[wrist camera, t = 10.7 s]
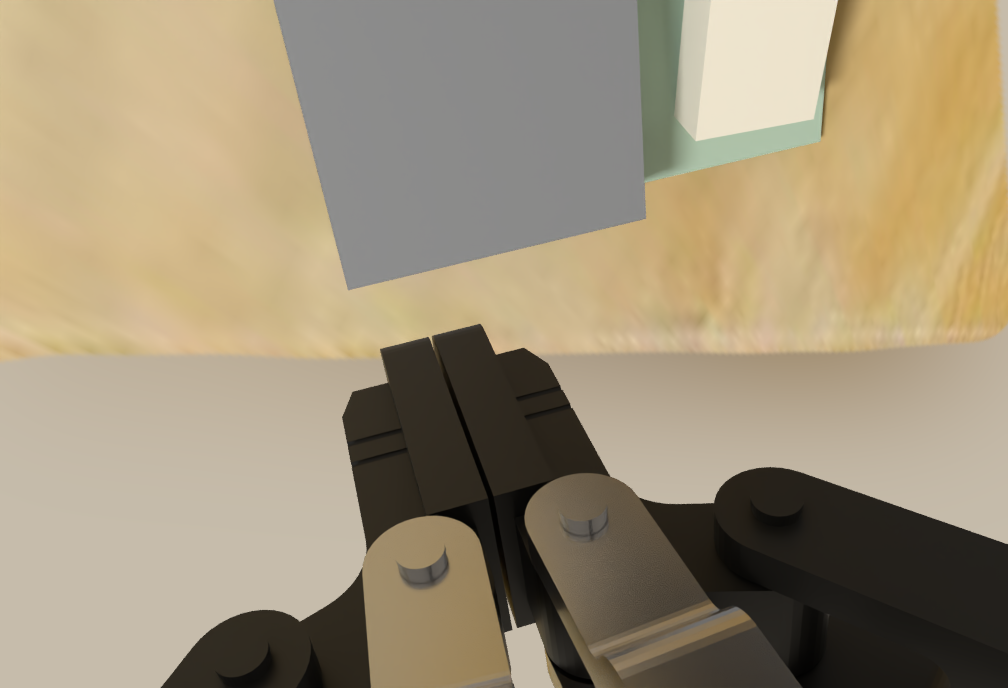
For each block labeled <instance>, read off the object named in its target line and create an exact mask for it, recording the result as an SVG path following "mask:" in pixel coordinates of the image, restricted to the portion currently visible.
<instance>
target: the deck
mask: <svg viewBox="0 0 1008 688" xmlns="http://www.w3.org/2000/svg"><path fill="white" fill-rule="evenodd" d="M274 4H275V8H276V12H277V16H278V20H279V23H280V27H281V31H282V35H283V39H284V43H285V47H286V51H287V55H288V58H289V62H290V66H291V70H292V74H293V78H294V82H295V86H296V89H297V93H298V97H299V101H300V105H301V109H302V113H303V117H304V121H305V124H306V128H307V132H308V136H309V140H310V144H311V148H312V152H313V156H314V159H315V163H316V167H317V171H318V175H319V179H320V183H321V187H322V190H323V194H324V198H325V202H326V206H327V210H328V214H329V218H330V222H331V225H332V229H333V233H334V237H335V241H336V245H337V249H338V253H339V256H340V260H341V264H342V268H343V272H344V276H345V280H346V284H347V288H348V290H351V289H355V288H359V287H364V286H368V285H372V284H376V283H380V282H384V281H389V280H393V279H397V278H401V277H405V276H409V275H414V274H418V273H422V272H426V271H430V270H434V269H439V268H443V267H447V266H451V265H455V264H459V263H463V262H468V261H472V260H476V259H480V258H484V257H488V256H493V255H497V254H501V253H505V252H509V251H513V250H518V249H522V248H526V247H530V246H534V245H538V244H543V243H547V242H551V241H555V240H559V239H563V238H568V237H572V236H576V235H580V234H584V233H588V232H593V231H597V230H601V229H605V228H609V227H613V226H618V225H622V224H626V223H630V222H634V221H638V220H643V219H646V208H645V183H644V159H643V134H642V109H641V85H640V60H639V35H638V10H637V0H274Z"/></svg>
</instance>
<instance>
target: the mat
mask: <svg viewBox="0 0 1008 688" xmlns="http://www.w3.org/2000/svg"><path fill="white" fill-rule="evenodd" d="M637 10H638V35H639V60H640V85H641V109H642V134H643V159H644V183H645V182H649V181H653V180H658V179H662V178H666V177H671V176H675V175H679V174H683V173H688V172H692V171H696V170H701V169H705V168H709V167H713V166H718V165H722V164H726V163H730V162H735V161H739V160H743V159H748V158H752V157H756V156H760V155H765V154H769V153H773V152H777V151H782V150H786V149H790V148H795V147H799V146H803V145H807V144H812V143H816V142H820V139H821V126H822V112H823V99H824V86H825V73H826V61H825V66H824V71H823V76H822V81H821V86H820V91H819V96H818V101H817V105H816V110H815V115H814V119H812V120H807V121H801V122H796V123H791V124H785V125H780V126H775V127H769V128H764V129H759V130H753V131H748V132H743V133H737V134H732V135H727V136H721V137H716V138H710V139H705V140H700V141H695V140H694V139H693V138H692V137H691V135H690V134H689V133H688V132H687V131H686V130H685V128H684V127H683V126H682V125H681V124H680V123H679V121H678V120H677V119H676V118H675V117H674V110H675V99H676V88H677V76H678V65H679V54H680V43H681V32H682V21H683V10H684V0H637ZM826 59H827V56H826Z"/></svg>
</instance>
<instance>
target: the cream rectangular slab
mask: <svg viewBox="0 0 1008 688" xmlns="http://www.w3.org/2000/svg"><path fill="white" fill-rule="evenodd" d="M837 2H838V0H684V10H683V21H682V32H681V43H680V54H679V65H678V76H677V88H676V99H675V110H674V117H675V118H676V119H677V120H678V121H679V123H680V124H681V125H682V126H683V127H684V128H685V130H686V131H687V132H688V133H689V134H690V135H691V137H692V138H693V139H694V140H695V141H700V140H705V139H710V138H716V137H721V136H727V135H732V134H737V133H743V132H748V131H753V130H759V129H764V128H769V127H775V126H780V125H785V124H791V123H796V122H801V121H807V120H812V119H814V115H815V110H816V105H817V101H818V96H819V91H820V86H821V81H822V76H823V71H824V66H825V61H826V56H827V51H828V47H829V42H830V37H831V32H832V27H833V22H834V17H835V12H836V7H837Z"/></svg>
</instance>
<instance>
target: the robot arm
mask: <svg viewBox="0 0 1008 688" xmlns="http://www.w3.org/2000/svg"><path fill="white" fill-rule="evenodd" d="M432 341H433V347H434V349H433V347H432V344H431V341H430V339H429V337H427V338H423V339H419V340H415V341H411V342H407V343H403V344H399V345H395V346H391V347H387V348H383V349H380V351H381V356H382V360H383V364H384V368H385V372H386V376H387V381H388V383H385V384H382V385H378V386H374V387H370V388H366V389H363V390H358V391H354V392H352V395H351V397H350V400H349V402H348V405H347V407H346V409H345V412H344V414H343V417H342V418H343V424H344V429H345V434H346V439H347V444H348V450H349V455H350V460H351V465H352V471H353V476H354V481H355V486H356V491H357V497H358V502H359V507H360V513H361V517H362V523H363V527H364V533H365V538H366V547H367V552H366V556H365V559H364V563H363V567H362V569H361V571H360V573H359V575H358V577H357V578H356V580H355V581H354V583H353V584H352V585H351V586H350V587H349V588H348V589H347V590H346V591H345V592H344V593H343V594H342V595H341V596H340V597H339V598H337V599H336V600H335V601H333V602H332V603H330V604H329V605H327V606H326V607H324V608H323V609H321V610H319V611H318V612H316V613H314V614H312V615H311V616H309V617H307V618H306V619H304V620H302V621H300V622H299V621H298V620H297V619H295V618H294V617H292V616H291V615H288V614H286V613H283V612H279V611H274V610H259V611H251V612H247V613H243V614H240V615H237V616H235V617H232V618H229V619H228V620H226V621H224V622H222V623H220V624H219V625H217V626H216V627H214V628H213V629H211V630H210V631H209V632H208V633H206V634H205V635H204V636H203V637H202V638H201V639H200V640H199V641H198V642H197V643H196V644H195V646H194V647H193V648H192V649H191V651H190V652H189V653H188V654H187V655H186V657H185V658H184V659H183V660H182V662H181V663H180V664H179V666H178V667H177V668H176V669H175V671H174V672H173V673H172V675H171V676H170V677H169V678H168V679H167V681H166V682H165V683H164V684H163V686H162V687H161V688H515V687H514V684H513V683H512V678H511V666H510V661H509V655H508V650H507V645H506V640H505V635H504V632H507V631H510V630H512V625H511V620H510V614H509V609H508V603H507V600H508V602H509V605H510V608H511V611H512V614H513V617H514V620H515V623H516V626H517V628H519V627H522V626H526V625H529V624H532V623H536V625H537V628H538V630H539V633H540V636H541V639H542V641H543V644H544V648H545V654H546V660H547V667H548V673H549V675H550V678H551V681H552V683H553V685H554V687H555V688H1008V544H1005V543H1002V542H999V541H996V540H994V539H991V538H988V537H985V536H982V535H979V534H976V533H973V532H971V531H968V530H965V529H962V528H959V527H956V526H953V525H950V524H948V523H945V522H942V521H939V520H936V519H933V518H930V517H927V516H924V515H922V514H919V513H916V512H913V511H910V510H907V509H904V508H902V507H899V506H896V505H893V504H890V503H887V502H884V501H881V500H878V499H875V498H873V497H870V496H867V495H864V494H861V493H858V492H855V491H852V490H850V489H847V488H844V487H841V486H838V485H835V484H832V483H830V482H827V481H824V480H821V479H818V478H815V477H812V476H809V475H806V474H804V473H801V472H797V471H794V470H790V469H784V468H774V467H772V468H771V467H766V468H756V469H752V470H748V471H744V472H741V473H739V474H737V475H735V476H733V477H732V478H730V479H729V480H728V481H726V482H725V483H724V484H723V485H722V486H721V488H720V489H719V491H718V492H717V494H716V498H715V501H714V503H706V504H663V503H656V502H652V501H648V500H644V499H642V498H639V497H638V496H637V495H636V494H635V492H633V490H632V489H631V488H630V487H628V486H627V485H626V484H624V483H623V482H621V481H619V480H617V479H615V478H612V477H610V475H609V474H608V472H607V470H606V469H605V466H604V465H603V463H602V461H601V459H600V457H599V456H598V454H597V452H596V450H595V448H594V446H593V445H592V443H591V441H590V439H589V438H588V436H587V434H586V432H585V430H584V428H583V426H582V425H581V423H580V421H579V419H578V417H577V415H576V414H575V412H574V410H573V408H571V406H570V403H569V401H568V399H567V397H566V395H565V393H564V392H563V390H561V387H560V385H559V383H558V381H557V379H556V377H555V375H554V373H553V372H552V370H551V368H550V366H549V364H548V363H546V362H545V361H543V360H542V359H540V358H539V357H537V356H536V355H534V354H533V353H531V352H530V351H528V350H526V349H525V348H521V349H517V350H513V351H509V352H505V353H501V354H498V355H496V354H495V352H494V350H493V348H492V346H491V344H490V342H489V339H488V337H487V335H486V333H485V331H484V329H483V327H482V325H481V324H478V325H474V326H470V327H466V328H462V329H458V330H454V331H450V332H446V333H442V334H438V335H434V336H432ZM506 597H507V598H506Z"/></svg>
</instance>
